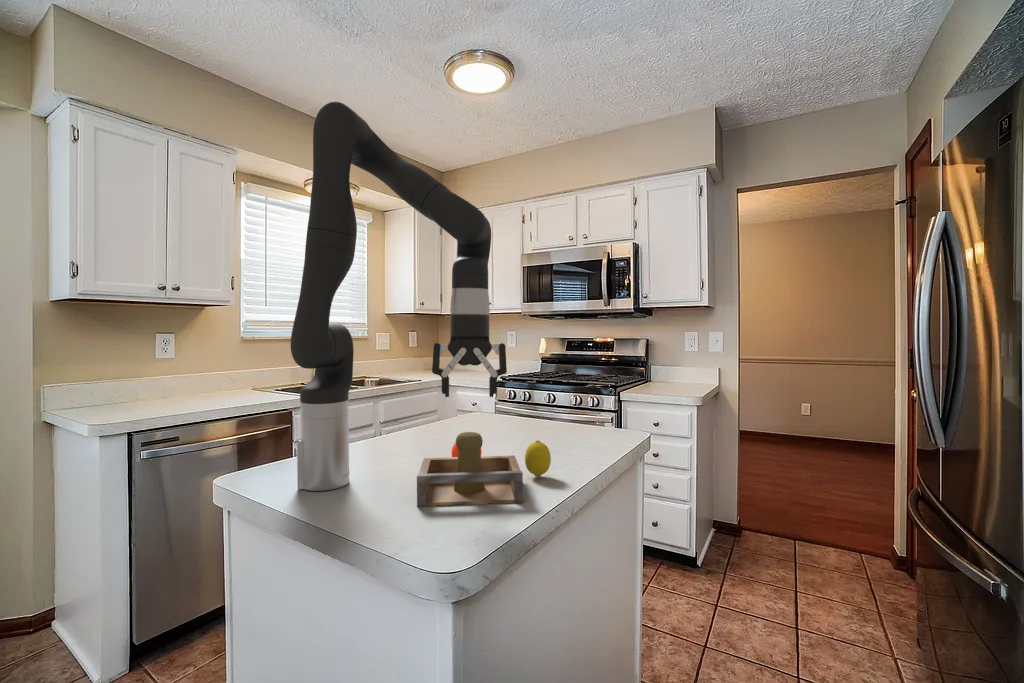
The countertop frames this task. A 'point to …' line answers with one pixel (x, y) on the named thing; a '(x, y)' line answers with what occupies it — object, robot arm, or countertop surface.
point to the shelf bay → (497, 477)
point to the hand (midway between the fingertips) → (469, 396)
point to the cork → (469, 461)
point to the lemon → (537, 458)
